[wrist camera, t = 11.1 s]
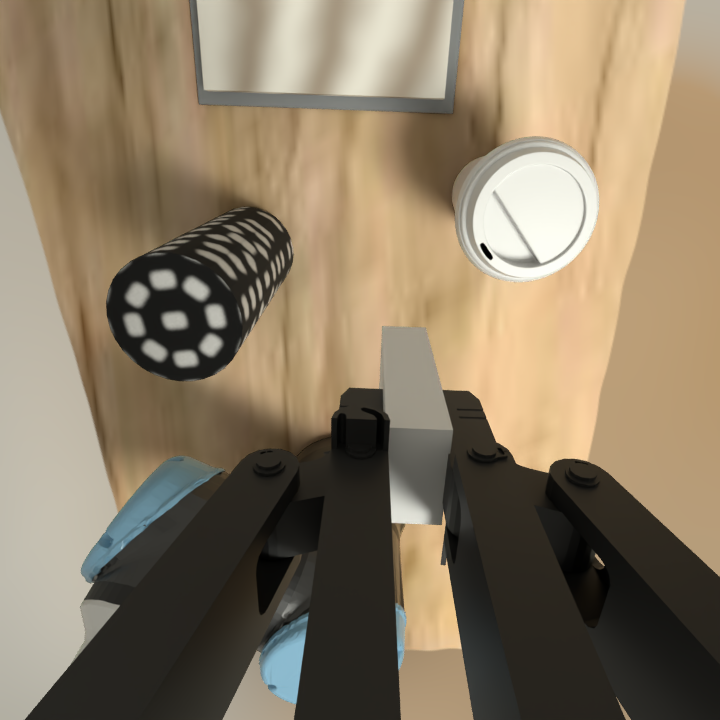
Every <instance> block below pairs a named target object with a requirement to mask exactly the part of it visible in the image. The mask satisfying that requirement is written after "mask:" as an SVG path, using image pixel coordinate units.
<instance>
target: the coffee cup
mask: <svg viewBox="0 0 720 720" xmlns="http://www.w3.org/2000/svg"><path fill="white" fill-rule="evenodd" d="M452 203H453V207H454V210H455V228H456V234H457V238H458V241H459V244H460V246H461V248H462V250H463V252H464V254H465V255H466V257H467V258H468V259H469V260H470V262H471V263H472V264H473V265H474V266H475V267H477V268H478V269H479V270H480V271H482V272H483V273H485V274H487V275H489V276H491V277H493V278H496V279H499V280H503V281H510V282H528V281H534V280H538V279H541V278H544V277H547V276H549V275H551V274H553V273H555V272H557V271H559V270H560V269H562V268H563V267H565V266H566V265H568V264H569V263H570V262H571V261H572V260H573V259H574V258H575V257H576V256H577V255H578V254H579V253H580V252H581V251H582V249H583V248H584V247H585V245H586V244H587V242H588V240H589V239H590V237H591V235H592V232H593V230H594V227H595V225H596V221H597V217H598V211H599V191H598V186H597V182H596V179H595V176H594V174H593V172H592V170H591V168H590V166H589V165H588V163H587V162H586V160H585V159H584V158H583V157H582V156H581V155H580V154H579V153H578V152H577V151H576V150H575V149H573V148H572V147H571V146H569V145H567V144H565V143H563V142H561V141H559V140H556V139H552V138H548V137H537V136H535V137H524V138H519V139H515V140H512V141H509V142H507V143H505V144H503V145H501V146H499V147H497V148H495V149H494V150H492V151H491V152H489V153H488V154H487V155H486V156H482V157H479V158H477V159H474V160H473V161H471V162H470V163H468V164H467V165H466V166H465V167H464V168H463V169H462V170H461V171H460V173H459V174H458V176H457V178H456V180H455V182H454V185H453V189H452Z"/></svg>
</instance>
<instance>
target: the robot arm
mask: <svg viewBox="0 0 720 720" xmlns="http://www.w3.org/2000/svg"><path fill="white" fill-rule="evenodd" d="M443 509H444V514H445V520H446V526H445V534H444V542H443V550H442V558H441V565H446V558H447V562H448V568H449V574H450V580H451V586H452V592H453V598H454V604H455V610H456V616H457V622H458V628H459V634H460V640H461V646H462V652H463V658H464V664H465V670H466V676H467V682H468V688H469V693H470V700H471V706H472V712H473V718H474V720H626V719H625V717H624V715H623V712H622V710H621V708H620V705H619V703H618V701H617V698H618V700H619V702H620V703H621V705H622V706H623V708H624V709H625V711H626V712H627V714H628V715H629V717H630V718H631V720H720V577H719V576H718V575H717V574H716V573H715V572H714V571H713V570H712V569H710V568H709V567H708V566H707V565H706V564H705V563H704V562H703V561H702V560H701V559H700V558H699V557H698V556H697V555H696V554H694V553H693V552H692V551H691V550H690V549H689V548H688V547H687V546H686V545H684V543H683V542H682V541H680V540H679V539H678V538H677V537H676V536H675V535H674V534H673V533H672V532H671V531H670V530H669V529H668V528H667V527H665V526H664V525H663V524H662V523H661V522H660V521H659V520H658V519H657V518H656V517H655V516H653V514H651V513H650V512H649V511H648V510H647V509H646V508H645V507H644V506H643V505H642V504H641V503H639V501H638V500H636V499H635V498H634V497H633V496H632V495H631V494H630V493H629V492H628V491H627V490H626V489H624V488H623V487H622V486H621V485H620V484H619V483H618V482H617V481H616V480H615V479H614V478H613V477H612V476H611V475H609V474H608V473H607V472H606V471H604V470H603V469H601V468H600V467H598V466H596V465H594V464H591V463H589V462H587V461H583V460H578V459H562V460H558V461H555V462H554V463H553V464H552V465H551V466H550V470H549V473H546V472H542V471H537V470H533V469H529V468H526V467H523V466H520V465H518V464H516V463H515V460H514V458H513V456H512V454H511V453H510V452H509V450H508V449H507V448H505V447H504V446H502V445H500V444H499V443H496V441H495V438H494V436H493V433H492V431H491V428H490V426H489V423H488V421H487V420H486V416H485V413H484V411H483V408H482V406H481V403H480V401H479V399H478V398H476V397H475V396H474V395H473V394H472V393H470V392H469V391H452V390H442V387H441V383H440V379H439V375H438V372H437V368H436V364H435V360H434V357H433V353H432V349H431V345H430V342H429V338H428V334H427V330H426V328H421V327H393V326H382V343H381V363H380V383H379V389H365V388H349V389H348V390H347V391H346V392H345V393H343V394H342V395H341V400H340V407H339V410H337V411H336V412H334V414H333V416H332V418H331V437H329V438H325V439H322V440H320V441H317V442H315V443H313V444H311V445H310V446H308V447H307V448H305V449H304V450H303V451H302V452H301V453H300V454H299V455H298V456H297V457H296V456H294V455H293V454H292V453H291V452H288V451H285V450H282V449H264V450H258V451H256V452H254V453H251V454H249V455H248V456H246V457H245V458H244V459H243V460H241V462H240V463H239V464H238V465H237V466H236V468H235V469H234V470H233V471H232V472H231V474H228V473H226V472H225V470H224V469H223V468H215V467H212V466H210V465H207V464H205V463H203V462H201V461H198V460H196V459H194V458H191V457H189V456H175V457H172V458H170V459H168V460H166V461H165V462H163V463H162V464H161V465H160V466H159V467H158V468H157V469H156V470H155V471H154V472H153V473H152V474H151V475H150V476H149V477H148V478H147V479H146V480H145V482H144V483H143V484H142V485H141V486H140V487H139V488H138V490H137V491H136V492H135V493H134V494H133V496H132V497H131V498H130V499H129V500H128V502H127V503H126V504H125V505H124V507H123V508H122V509H121V510H120V512H119V513H118V514H117V516H116V517H115V518H114V519H113V521H112V522H111V524H110V525H109V526H108V528H107V530H106V533H104V534H103V535H102V537H101V538H100V540H99V541H98V542H97V543H96V545H95V546H94V547H93V549H92V550H91V551H90V553H89V554H88V556H87V557H86V559H85V561H84V563H83V565H82V568H81V574H82V576H84V577H85V579H86V581H87V582H88V583H94V584H93V586H92V587H91V589H90V591H89V592H88V594H87V596H86V598H85V599H84V601H83V602H82V604H81V606H80V608H81V613H82V618H83V623H84V627H85V641H84V643H83V644H82V646H81V648H80V649H79V651H78V653H77V655H76V656H75V658H74V660H73V661H72V663H71V665H70V666H69V667H68V669H67V670H66V671H65V672H64V673H63V675H62V676H61V677H60V678H59V679H58V680H57V682H56V683H55V684H54V685H53V686H52V688H51V689H50V690H49V691H48V692H47V694H46V695H45V696H44V697H43V698H42V700H41V701H40V702H39V703H38V705H37V706H36V707H35V708H34V709H33V710H32V712H31V713H30V714H29V715H28V717H27V718H26V719H25V720H222V719H223V717H224V715H225V713H226V711H227V709H228V707H229V705H230V703H231V701H232V699H233V697H234V695H235V693H236V691H237V689H238V687H239V685H240V683H241V681H242V679H243V677H244V675H245V673H246V671H247V668H248V667H249V665H250V662H251V660H252V658H253V656H254V654H255V652H256V650H257V651H259V652H261V655H260V658H259V661H260V662H259V665H260V670H261V676H262V679H263V681H264V683H265V684H267V685H268V689H269V690H270V691H271V692H272V693H273V694H275V695H276V696H277V697H279V698H281V699H283V700H285V701H287V702H290V703H294V704H296V709H295V716H294V720H401V716H400V715H401V714H400V692H399V669H400V667H401V664H402V661H403V657H404V642H405V626H406V615H405V612H404V599H403V584H402V570H401V553H400V537H401V534H402V532H403V529H404V527H405V524H406V523H407V524H431V525H442V517H443ZM595 553H596V554H597V555H598V556H599V557H600V558H601V560H602V561H603V563H604V565H605V566H603V565H602V564H601V563H600V562H599V561H598V560H597V559H596V557H595ZM616 697H617V698H616Z"/></svg>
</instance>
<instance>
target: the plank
mask: <svg viewBox="0 0 720 720" xmlns="http://www.w3.org/2000/svg"><path fill="white" fill-rule="evenodd" d="M197 11H198V24H199V36H200V49H201V61H202V74H203V87H204V90H206V91H214V92H242V93H269V94H297V95H324V96H352V97H380V98H407V99H435V100H443V99H445V88H446V77H447V66H448V55H449V44H450V33H451V22H452V11H453V0H197Z"/></svg>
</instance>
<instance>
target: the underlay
mask: <svg viewBox="0 0 720 720" xmlns="http://www.w3.org/2000/svg"><path fill="white" fill-rule="evenodd" d="M463 7H464V0H453V11H452V22H451V33H450V44H449V55H448V66H447V77H446V88H445V99H443V100H435V99H407V98H380V97H352V96H324V95H297V94H269V93H242V92H214V91H206V90H204V87H203V74H202V61H201V49H200V36H199V24H198V11H197V0H190V11H191V22H192V33H193V44H194V55H195V66H196V77H197V88H198V99H199V104H201V105H229V106H256V107H283V108H311V109H338V110H365V111H392V112H420V113H447V114H453V107H454V97H455V87H456V77H457V67H458V57H459V47H460V37H461V27H462V17H463Z"/></svg>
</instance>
